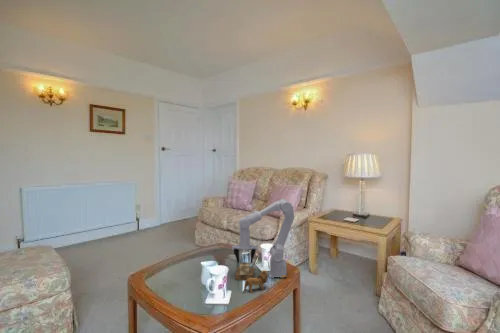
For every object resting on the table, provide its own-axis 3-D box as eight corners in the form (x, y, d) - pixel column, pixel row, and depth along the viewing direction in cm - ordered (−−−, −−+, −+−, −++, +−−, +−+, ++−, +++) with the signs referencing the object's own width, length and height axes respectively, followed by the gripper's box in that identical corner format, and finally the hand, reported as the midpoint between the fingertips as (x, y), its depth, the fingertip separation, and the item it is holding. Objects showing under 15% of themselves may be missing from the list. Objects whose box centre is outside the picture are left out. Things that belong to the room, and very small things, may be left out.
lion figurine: (265, 284, 141) (265, 268, 140) (270, 288, 136) (270, 271, 136) (240, 291, 134) (240, 273, 134) (245, 296, 129) (245, 278, 129)
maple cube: (249, 271, 150) (249, 262, 150) (248, 275, 145) (248, 266, 145) (241, 270, 151) (240, 262, 151) (239, 274, 146) (239, 265, 146)
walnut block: (254, 273, 155) (254, 267, 155) (253, 281, 145) (253, 275, 145) (237, 272, 156) (237, 267, 156) (235, 280, 146) (235, 274, 146)
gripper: (257, 236, 153) (257, 259, 153) (233, 236, 154) (233, 259, 154) (257, 240, 146) (257, 264, 146) (231, 240, 147) (231, 264, 147)
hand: (245, 262), depth 150 cm, fingers open, 7 cm apart
